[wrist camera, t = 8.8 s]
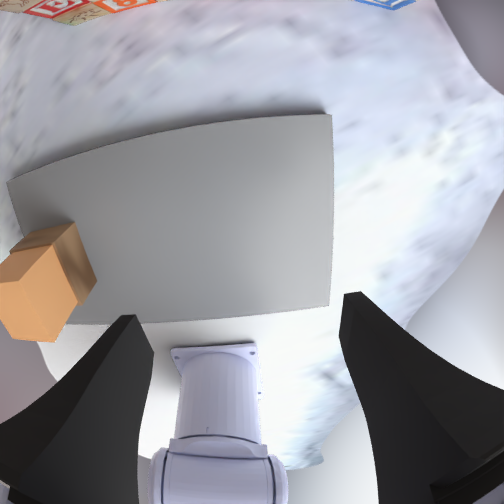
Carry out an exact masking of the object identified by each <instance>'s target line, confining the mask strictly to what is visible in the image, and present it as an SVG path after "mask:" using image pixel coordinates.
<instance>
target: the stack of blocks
mask: <svg viewBox="0 0 504 504" xmlns="http://www.w3.org/2000/svg"><path fill="white" fill-rule="evenodd" d="M161 1H167V0H0V10H2V11H8V12H15V13H21V12H23V13H27V14H31V15H36V16H41V17H45V18H52V20H53V21H57V22H61V23H65V24H69V25H73V26H76V25H78V24H81V23H83V22H86V21H89V20H92V19H95V18H97V17H100V16H103V15H107V14H110V13H116V12H120V11H123V10H127V9H131V8H134V7H138V6H142V5H147V4H151V3H156V2H161ZM353 1H357V2H361V3H366V4H370V5H374V6H378V7H382V8H386V9H390V10H396V9H399V8H401V7H403V6H406V5H408V4H411V3H413V2H416V1H417V0H353Z"/></svg>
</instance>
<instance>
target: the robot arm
mask: <svg viewBox="0 0 504 504" xmlns="http://www.w3.org/2000/svg"><path fill="white" fill-rule="evenodd" d="M339 339H340V343H341V347H342V351H343V355H344V359H345V362H346V365H347V368H348V370H349V373H350V376H351V378H352V381H353V384H354V386H355V389H356V392H357V394H358V397H359V400H360V402H361V405H362V408H363V411H364V414H365V417H366V421H367V425H368V429H369V434H370V439H371V444H372V450H373V455H374V461H375V468H376V476H377V485H378V499H379V504H504V390H503V389H500V388H498V387H495V386H493V385H491V384H488V383H485V382H484V381H482V380H480V379H478V378H475V377H474V376H472V375H470V374H468V373H466V372H464V371H462V370H461V369H459V368H457V367H455V366H454V365H452V364H451V363H449V362H447V361H446V360H444V359H443V358H441V357H440V356H438V355H437V354H435V353H434V352H432V351H431V350H430V349H428V348H427V347H426V346H424V345H423V344H422V343H420V342H419V341H418V340H416V339H415V338H414V337H413V336H411V335H410V334H409V333H408V332H406V331H405V330H404V329H403V328H402V327H400V326H399V325H398V324H397V323H396V322H395V321H393V320H392V319H391V318H390V317H389V316H388V315H387V314H386V313H384V312H383V311H382V310H381V309H380V308H379V307H378V306H377V305H376V304H374V303H373V302H372V301H371V300H370V299H369V298H368V297H367V296H365V295H364V294H363V293H362V292H361V291H360V292H353V293H347V294H344V299H343V307H342V315H341V323H340V330H339ZM252 351H254V352H252ZM170 354H171V356H172V359H173V361H174V363H175V365H176V367H177V369H178V371H179V373H180V375H181V377H182V381H181V388H180V395H179V402H178V410H177V418H176V426H175V434H174V439H173V438H171V439H170V444H169V448H160V449H159V451H157V452H156V453H154V455H153V457H152V460H151V463H150V468H149V474H148V501H149V504H287V503H288V481H287V474H286V470H285V467H284V465H283V463H282V462H281V461H280V460H279V459H278V458H277V457H276V456H275V455H268V452H267V445H265V444H261V431H260V417H259V403H258V400H259V399H263V398H264V391H263V384H262V377H261V370H260V363H259V356H258V349H257V345H256V344H254V343H247V344H236V345H223V346H209V347H190V348H173V349H171V352H170ZM153 357H154V352H153V350H152V348H151V346H150V344H149V342H148V339H147V337H146V335H145V333H144V331H143V329H142V327H141V325H140V322H139V320H138V318H137V316H136V314H132V315H121V316H120V317H119V318H118V319H117V320H116V321H115V322H114V323H113V324H112V325H111V326H110V327H109V328H108V329H107V330H106V331H105V333H104V334H103V335H102V336H101V337H100V338H99V339H98V340H97V341H96V343H95V344H94V345H93V346H92V347H91V348H90V349H89V350H88V352H87V353H86V354H85V355H84V356H83V357H82V358H81V359H80V360H79V361H78V362H77V363H76V364H75V365H74V366H73V367H72V368H71V370H70V371H69V372H68V373H67V374H66V375H65V376H64V377H63V378H62V379H61V380H60V381H58V382H57V383H56V384H55V385H54V386H53V387H52V388H51V389H50V390H48V391H47V392H46V393H45V394H44V395H42V396H41V397H40V398H39V399H37V400H36V401H35V402H33V403H32V404H31V405H29V406H28V407H27V408H26V409H24V410H23V411H21V412H20V413H18V414H16V415H15V416H13V417H12V418H10V419H8V420H7V421H5V422H3V423H1V424H0V480H1V481H3V482H4V483H6V484H8V485H9V486H10V489H9V488H7V487H6V486H4V485H3V484H1V483H0V504H139V498H138V481H137V458H138V441H139V433H140V426H141V421H142V417H143V412H144V408H145V403H146V399H147V394H148V390H149V386H150V381H151V376H152V367H153Z"/></svg>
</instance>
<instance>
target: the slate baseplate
mask: <svg viewBox="0 0 504 504" xmlns="http://www.w3.org/2000/svg"><path fill="white" fill-rule="evenodd" d="M6 183H7V187H8V190H9V194H10V197H11V201H12V204H13V207H14V210H15V213H16V216H17V219H18V222H19V225H20V227H21V230H22V233H23V235H24V237H25V236H26V235H28V234H29V233H30V232H33V231H37V230H41V229H46V228H50V227H54V226H59V225H63V224H68V223H73V222H75V223H76V226H77V229H78V232H79V235H80V238H81V241H82V243H83V246H84V249H85V251H86V254H87V257H88V259H89V262H90V264H91V267H92V269H93V272H94V274H95V276H96V279H97V282H96V284H95V286H94V287H93V289H92V290H91V292H90V294H89V295H88V297H87V299H86V300H85V302H84V304H83V305H82V306H75V308H74V309H73V311H72V313H71V314H70V316H69V318H68V319H67V321H66V324H113V323H114V322H115V321H116V320H117V319H118V318H119V317H120V316H121V315H132V314H136V316H137V318H138V320H139V322H140V323H159V322H178V321H193V320H207V319H219V318H231V317H242V316H252V315H261V314H270V313H279V312H287V311H295V310H303V309H310V308H318V307H325V306H329V300H330V287H331V271H332V252H333V224H334V155H333V128H332V115H330V114H304V115H283V116H269V117H257V118H247V119H238V120H230V121H222V122H215V123H208V124H201V125H195V126H189V127H184V128H178V129H173V130H168V131H163V132H158V133H153V134H149V135H145V136H140V137H136V138H132V139H128V140H124V141H120V142H116V143H113V144H109V145H106V146H102V147H99V148H95V149H92V150H89V151H85V152H82V153H79V154H76V155H73V156H70V157H67V158H64V159H61V160H59V161H56V162H53V163H50V164H48V165H45V166H42V167H40V168H37V169H35V170H32V171H30V172H27V173H25V174H23V175H20V176H18V177H16V178H13V179H11V180H10V181H8V182H6Z"/></svg>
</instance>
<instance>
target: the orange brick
mask: <svg viewBox="0 0 504 504" xmlns="http://www.w3.org/2000/svg"><path fill="white" fill-rule="evenodd" d="M77 303H78V301H77V299H76V297H75V295H74V293H73V291H72V289H71V287H70V284H69V282H68V280H67V278H66V276H65V274H64V271H63V269H62V267H61V265H60V262H59V260H58V257H57V255H56V253H55V250H54V248H53V245H49V246H44V247H38V248H33V249H28V250H23V251H18V252H13V253H11V254H10V255H9V256H8V257H7V258H6V259H5V260H4V261H3V262H2V263H1V264H0V319H1V321H2V323H3V324H4V326H5V327H6V329H7V330H8V332H9V333H10V335H11V336H12V338H13V339H20V340H30V341H41V342H55V341H56V339H57V337H58V335H59V333H60V332H61V330H62V328H63V326H64V325H65V323H66V321H67V319H68V318H69V316H70V314H71V313H72V311H73V309H74V308H75V306H76V304H77Z"/></svg>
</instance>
